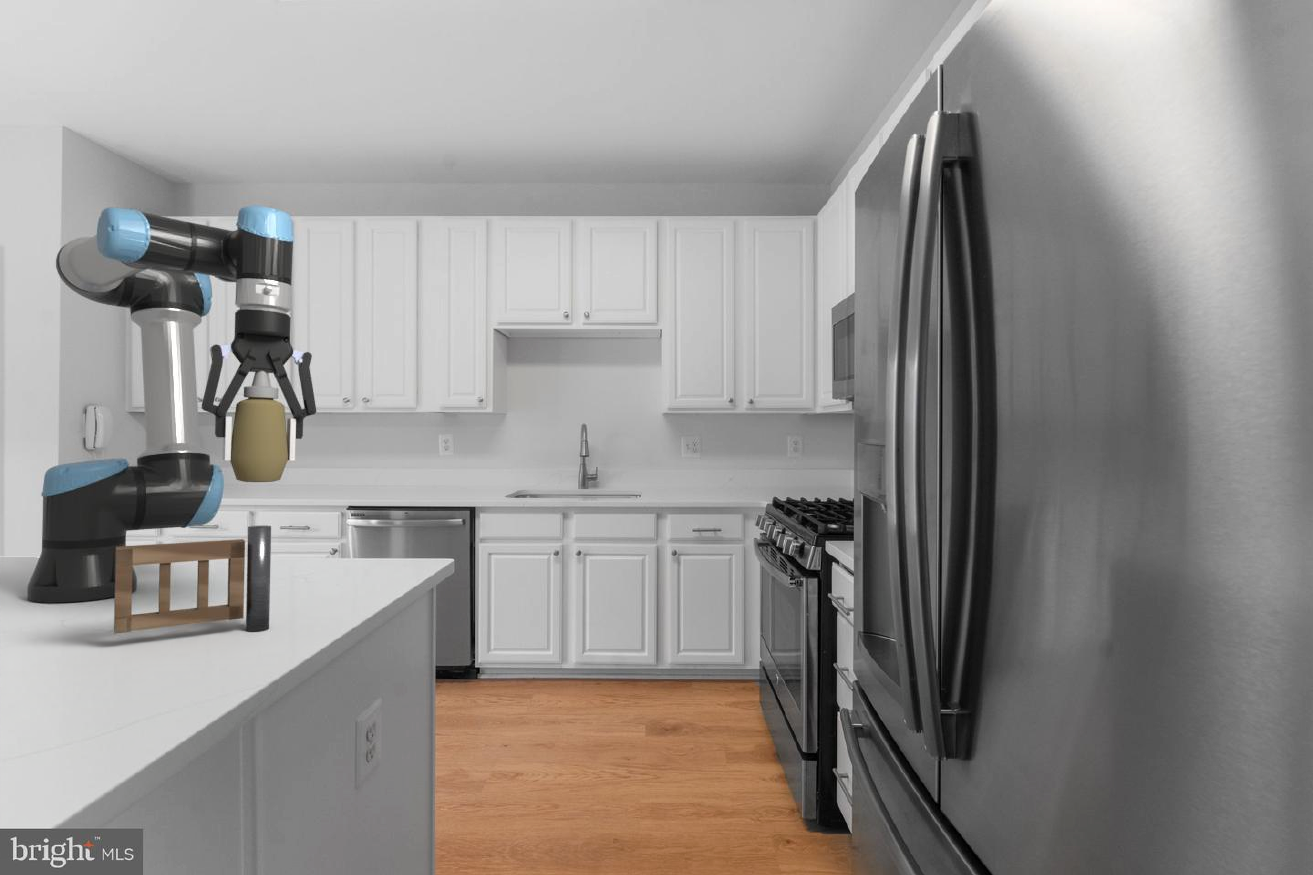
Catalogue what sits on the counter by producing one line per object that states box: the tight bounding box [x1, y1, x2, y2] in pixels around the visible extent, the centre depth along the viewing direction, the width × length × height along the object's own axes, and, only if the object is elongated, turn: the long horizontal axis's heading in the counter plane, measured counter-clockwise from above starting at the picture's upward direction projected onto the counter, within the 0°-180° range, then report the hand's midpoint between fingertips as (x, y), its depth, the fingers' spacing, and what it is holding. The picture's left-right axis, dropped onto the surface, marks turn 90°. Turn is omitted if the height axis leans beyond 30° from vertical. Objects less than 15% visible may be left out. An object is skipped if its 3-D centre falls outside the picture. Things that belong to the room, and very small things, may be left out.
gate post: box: [245, 524, 272, 633], centre depth 109 cm, size 3×3×15 cm
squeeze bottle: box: [229, 371, 289, 483], centre depth 114 cm, size 8×8×18 cm
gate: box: [113, 538, 246, 635], centre depth 103 cm, size 2×15×11 cm, turn 128°
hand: (259, 459), depth 114 cm, fingers closed on squeeze bottle, 8 cm apart
